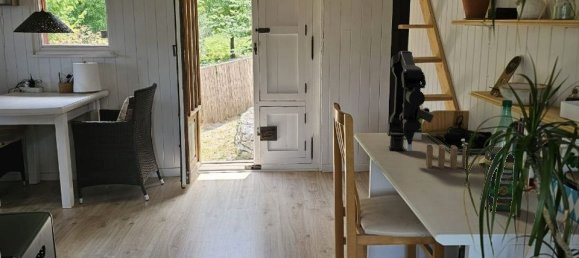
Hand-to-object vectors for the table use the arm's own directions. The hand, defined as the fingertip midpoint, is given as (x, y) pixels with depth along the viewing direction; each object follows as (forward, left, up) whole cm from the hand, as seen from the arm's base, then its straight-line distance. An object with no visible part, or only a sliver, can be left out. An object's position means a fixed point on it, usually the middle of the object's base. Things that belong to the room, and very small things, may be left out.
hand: (408, 142), depth 208 cm
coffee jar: (+44, +22, -9) cm, 50 cm away
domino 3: (0, +13, -9) cm, 15 cm away
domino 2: (0, +8, -9) cm, 12 cm away
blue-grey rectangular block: (0, 0, -2) cm, 3 cm away
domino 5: (0, +22, -9) cm, 23 cm away
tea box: (-54, +7, -9) cm, 55 cm away
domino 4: (0, +17, -9) cm, 19 cm away
